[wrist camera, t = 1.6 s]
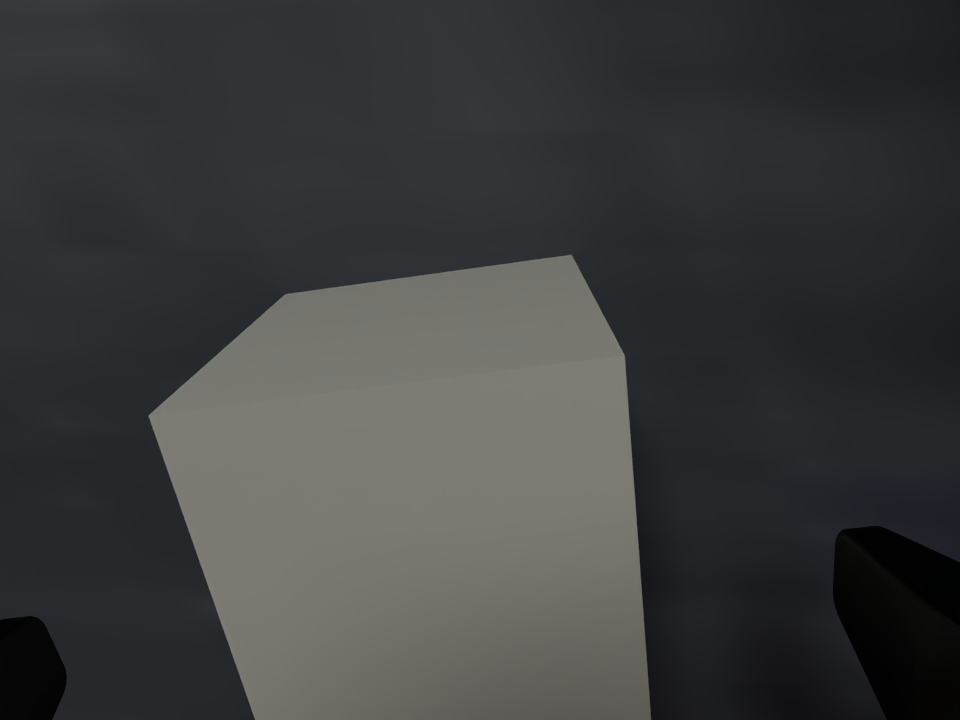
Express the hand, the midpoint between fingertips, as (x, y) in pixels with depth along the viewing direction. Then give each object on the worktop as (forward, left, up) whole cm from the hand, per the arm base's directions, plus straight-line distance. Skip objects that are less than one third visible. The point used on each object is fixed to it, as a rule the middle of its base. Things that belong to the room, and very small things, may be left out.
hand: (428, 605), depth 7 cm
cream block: (0, 0, -5) cm, 5 cm away
